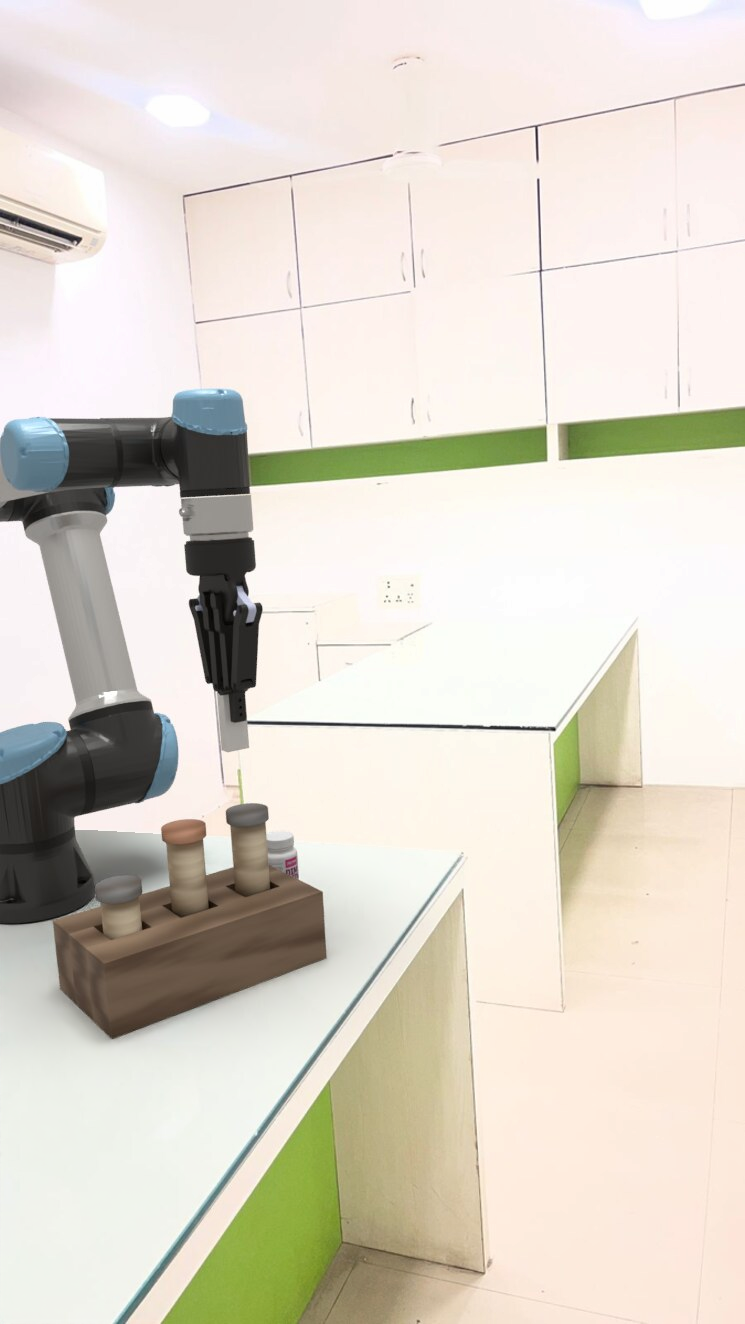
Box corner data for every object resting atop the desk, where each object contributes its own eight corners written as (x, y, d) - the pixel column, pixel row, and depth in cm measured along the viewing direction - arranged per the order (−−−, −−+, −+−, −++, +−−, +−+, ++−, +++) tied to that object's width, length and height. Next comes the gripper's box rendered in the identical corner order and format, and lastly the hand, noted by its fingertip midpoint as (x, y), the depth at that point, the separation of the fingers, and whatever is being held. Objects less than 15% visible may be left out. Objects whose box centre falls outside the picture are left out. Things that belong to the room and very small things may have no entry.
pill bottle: (294, 904, 134) (290, 842, 133) (259, 903, 135) (254, 841, 134) (304, 889, 139) (300, 829, 137) (270, 888, 140) (265, 828, 138)
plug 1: (98, 990, 112) (87, 883, 110) (139, 976, 115) (130, 871, 113) (116, 1007, 108) (105, 896, 106) (159, 992, 111) (149, 884, 109)
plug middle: (162, 930, 116) (153, 826, 114) (201, 918, 119) (192, 816, 117) (182, 944, 112) (173, 836, 110) (221, 931, 115) (213, 826, 113)
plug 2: (225, 910, 121) (217, 809, 119) (261, 899, 124) (254, 800, 121) (246, 923, 117) (239, 819, 115) (282, 911, 120) (275, 809, 118)
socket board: (60, 989, 114) (52, 920, 113) (262, 920, 130) (258, 859, 128) (111, 1038, 103) (104, 963, 102) (326, 957, 118) (322, 891, 117)
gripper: (161, 539, 115) (179, 745, 119) (215, 540, 105) (233, 766, 109) (221, 534, 120) (237, 733, 123) (279, 534, 109) (294, 752, 113)
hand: (235, 748), depth 116 cm, fingers closed
